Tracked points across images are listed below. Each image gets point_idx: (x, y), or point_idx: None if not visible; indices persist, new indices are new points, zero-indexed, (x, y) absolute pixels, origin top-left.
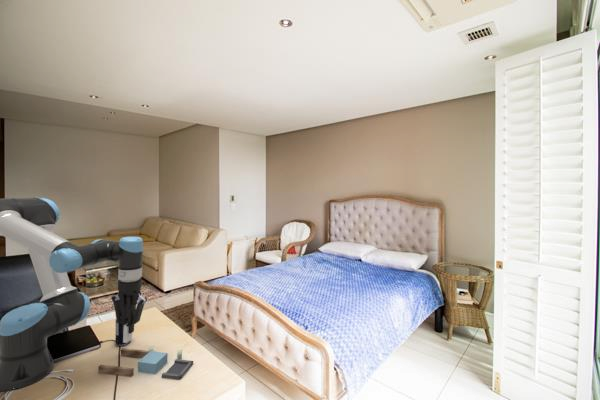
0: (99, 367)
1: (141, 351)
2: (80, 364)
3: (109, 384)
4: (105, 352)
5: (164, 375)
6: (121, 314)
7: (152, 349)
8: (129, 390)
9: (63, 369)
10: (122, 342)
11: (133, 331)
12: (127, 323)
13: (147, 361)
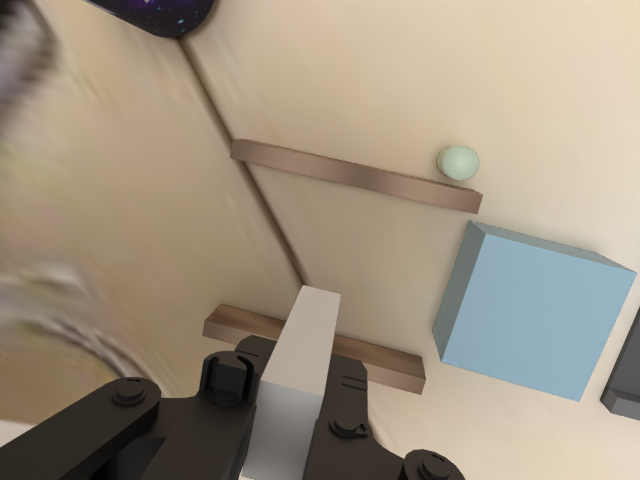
0: (212, 334)
1: (395, 192)
2: (75, 231)
3: None
4: (128, 110)
5: (627, 415)
6: (54, 461)
7: (473, 172)
8: None
9: (26, 268)
10: (179, 28)
11: (360, 361)
12: (263, 425)
13: (509, 367)
